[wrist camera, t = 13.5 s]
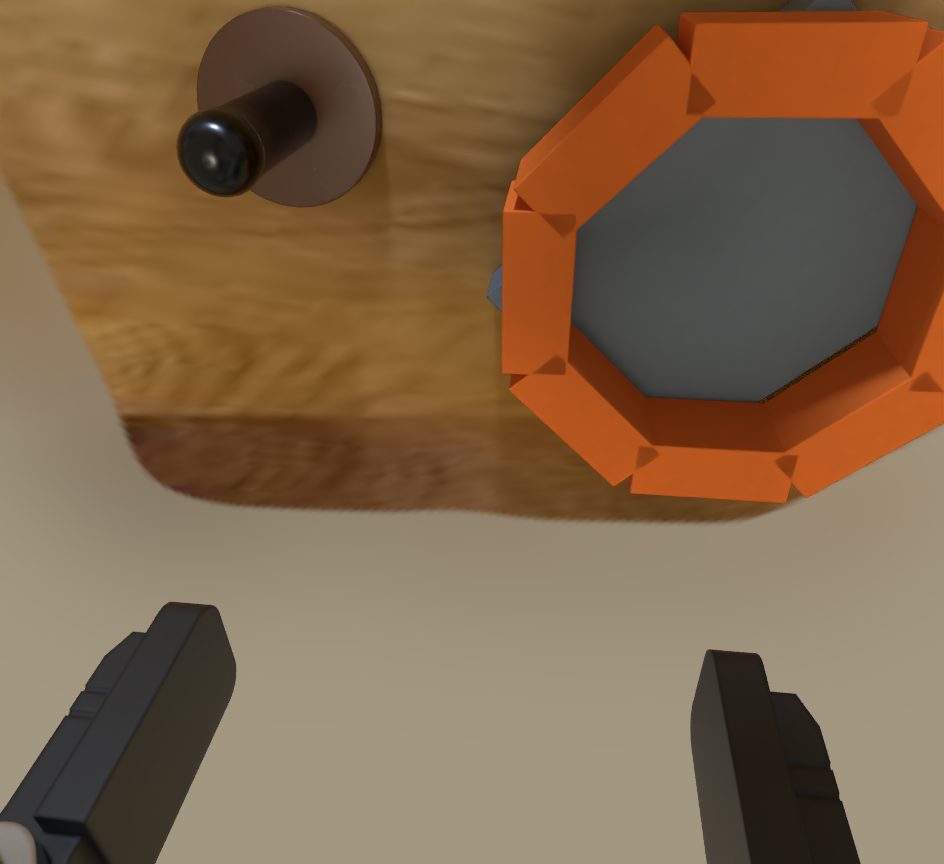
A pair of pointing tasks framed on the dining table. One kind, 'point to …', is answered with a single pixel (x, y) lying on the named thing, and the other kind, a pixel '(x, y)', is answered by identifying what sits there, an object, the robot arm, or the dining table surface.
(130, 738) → the robot arm
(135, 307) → the dining table surface
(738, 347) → the grey flat slab
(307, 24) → the peg stand
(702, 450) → the ring
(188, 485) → the dining table surface
